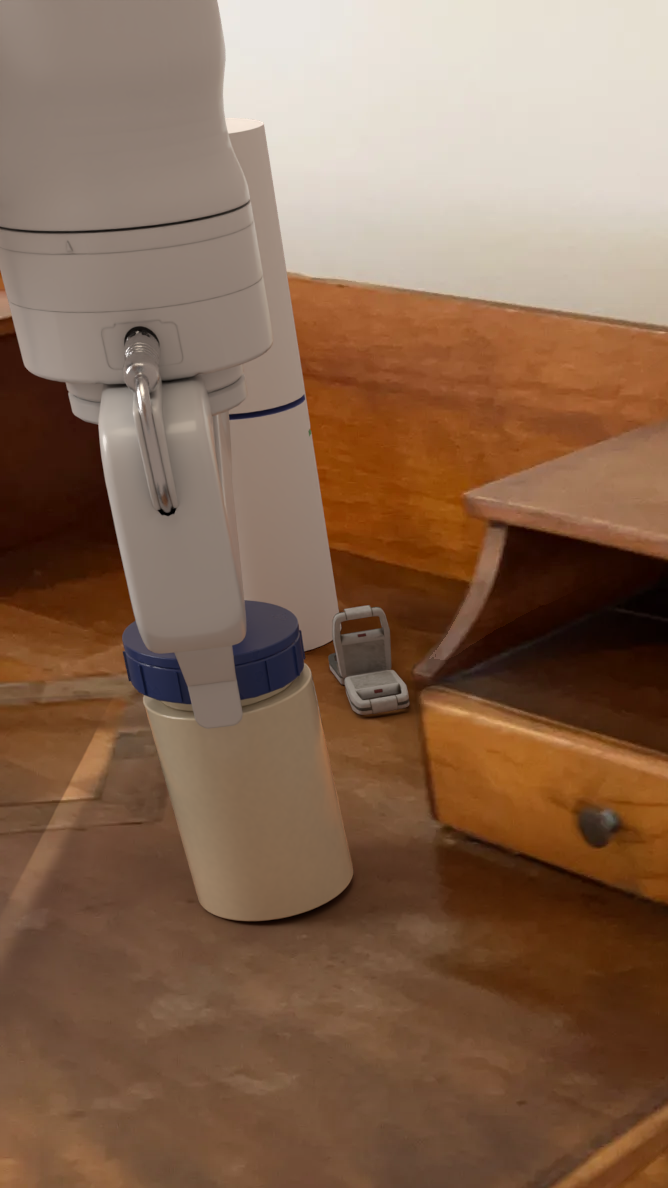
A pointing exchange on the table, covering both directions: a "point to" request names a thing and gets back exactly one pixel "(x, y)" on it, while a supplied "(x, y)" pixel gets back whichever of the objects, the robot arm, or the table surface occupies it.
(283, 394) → the cylindrical container
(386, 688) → the strap clip
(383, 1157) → the table surface
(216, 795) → the jar
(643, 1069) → the table surface
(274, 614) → the lid
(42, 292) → the robot arm
